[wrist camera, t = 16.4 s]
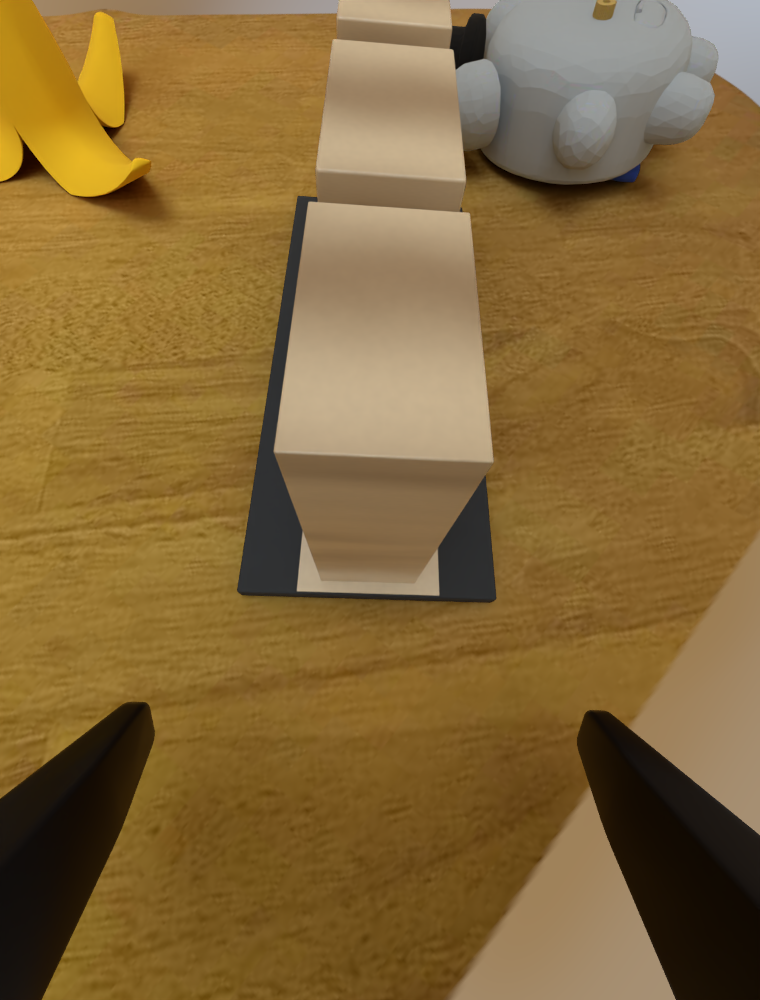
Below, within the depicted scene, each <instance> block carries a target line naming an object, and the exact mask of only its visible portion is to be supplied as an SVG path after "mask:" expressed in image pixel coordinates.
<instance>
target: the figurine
mask: <svg viewBox="0 0 760 1000" xmlns="http://www.w3.org/2000/svg"><path fill="white" fill-rule="evenodd" d="M449 49H452V50H454V60H455V70H456V80H457V91H458V101H459V111H460V121H461V132H462V142H463V151H472V150H476V149H480V148H481V150H482V152H483V153H484V155H485V156H486V157H487V158H488V159H489V160H490V161H491V162H493V163H494V164H495V165H497V166H498V167H500V168H502V169H504V170H506V171H508V172H510V173H512V174H515V175H518V176H521V177H524V178H527V179H531V180H536V181H541V182H546V183H553V184H565V185H568V184H588V183H595V182H602V181H606V180H613V181H619V182H634V181H635V180H636V178H637V176H638V173H639V170H640V163H641V162H642V161H643V160H644V159H645V158H646V156H647V155H648V154H649V152H650V150H651V148H652V146H653V145H654V144H661V145H671V144H677V143H681V142H684V141H686V140H688V139H690V138H692V137H693V136H694V135H695V134H696V133H697V132H698V131H699V130H700V128H701V127H702V125H703V124H704V122H705V120H706V118H707V116H708V114H709V112H710V110H711V107H712V105H713V102H714V96H715V94H714V92H713V89H712V86H711V84H710V81H711V79H712V77H713V75H714V73H715V70H716V67H717V62H718V51H717V49H716V47H715V45H714V44H712V43H711V42H709V41H707V40H705V39H703V38H698V37H693V36H692V35H691V30H690V27H689V24H688V21H687V20H686V18H685V17H684V15H683V14H682V13H681V11H680V10H679V9H678V7H677V6H675V5H674V4H673V3H671V2H670V1H668V0H500V1H499V2H498V3H497V4H496V5H495V6H494V7H493V8H492V10H491V11H490V12H489V14H488V17H487V19H486V18H485V16H484V14H476V13H474V14H472V15H471V17H470V18H469V20H468V23H467V25H466V27H459V26H452V35H451V42H450V48H449Z"/></svg>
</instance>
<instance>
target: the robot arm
mask: <svg viewBox="0 0 760 1000" xmlns="http://www.w3.org/2000/svg"><path fill="white" fill-rule="evenodd" d="M154 736H155V730H154V725H153V720H152V715H151V710H150V707H149V705H148V704H147V703H146V702H127V703H124V704H123V705H121V706H120V707H118V708H117V709H116V710H115V711H113V712H112V713H111V714H109V715H108V716H107V717H106V718H104V719H103V720H102V721H100V722H99V723H98V724H96V725H95V726H94V727H93V728H91V729H90V730H89V731H87V732H86V733H85V734H84V735H82V736H81V737H80V738H78V739H77V740H76V741H74V742H73V743H72V744H71V745H69V746H68V747H67V748H65V749H64V750H63V751H61V752H60V753H59V754H58V755H56V756H55V757H54V758H52V759H51V760H50V761H49V762H47V763H46V764H45V765H43V766H42V767H41V768H39V769H38V770H37V771H36V772H34V773H33V774H32V775H30V776H29V777H28V778H26V779H25V780H24V781H23V782H21V783H20V784H19V785H17V786H16V787H15V788H14V789H12V790H11V791H10V792H8V793H7V794H6V795H4V796H3V797H2V798H1V799H0V1000H42V998H43V996H44V994H45V991H46V989H47V987H48V985H49V983H50V981H51V979H52V977H53V974H54V972H55V970H56V968H57V966H58V964H59V962H60V960H61V957H62V955H63V953H64V951H65V949H66V947H67V945H68V943H69V940H70V938H71V936H72V934H73V932H74V930H75V928H76V926H77V923H78V921H79V919H80V917H81V915H82V913H83V911H84V909H85V906H86V904H87V902H88V900H89V898H90V896H91V894H92V892H93V889H94V887H95V885H96V883H97V881H98V879H99V877H100V875H101V872H102V870H103V868H104V866H105V864H106V862H107V860H108V858H109V855H110V853H111V851H112V849H113V847H114V845H115V842H116V840H117V838H118V836H119V833H120V831H121V829H122V826H123V824H124V821H125V819H126V816H127V813H128V811H129V808H130V805H131V802H132V800H133V797H134V794H135V791H136V789H137V786H138V783H139V781H140V778H141V775H142V772H143V770H144V767H145V764H146V761H147V759H148V756H149V753H150V750H151V748H152V745H153V741H154ZM577 746H578V751H579V754H580V757H581V760H582V763H583V766H584V769H585V772H586V776H587V779H588V782H589V785H590V788H591V791H592V794H593V797H594V800H595V803H596V806H597V809H598V812H599V815H600V819H601V821H602V824H603V827H604V830H605V833H606V835H607V838H608V840H609V842H610V845H611V848H612V850H613V852H614V855H615V857H616V860H617V862H618V864H619V867H620V869H621V871H622V874H623V876H624V878H625V881H626V883H627V885H628V888H629V890H630V892H631V895H632V897H633V900H634V902H635V904H636V907H637V909H638V911H639V914H640V916H641V918H642V921H643V923H644V926H645V928H646V930H647V932H648V935H649V937H650V940H651V942H652V944H653V947H654V949H655V951H656V954H657V956H658V958H659V961H660V963H661V965H662V968H663V970H664V973H665V975H666V977H667V980H668V982H669V984H670V987H671V989H672V991H673V994H674V996H675V999H676V1000H760V835H759V834H758V833H756V832H755V831H754V830H753V829H752V828H750V827H749V826H748V825H747V824H745V823H744V822H743V821H742V820H741V819H739V818H738V817H737V816H735V815H734V814H733V813H732V812H731V811H729V810H728V809H727V808H726V807H725V806H723V805H722V804H721V803H720V802H718V801H717V800H716V799H715V798H713V797H712V796H711V795H710V794H709V793H707V792H706V791H705V790H704V789H703V788H701V787H700V786H699V785H698V784H696V783H695V782H694V781H693V780H692V779H690V778H689V777H688V776H687V775H685V774H684V773H683V772H682V771H680V770H679V769H678V768H677V767H676V766H674V765H673V764H672V763H671V762H670V761H668V760H667V759H666V758H665V757H663V756H662V755H661V754H660V753H659V752H657V751H656V750H655V749H654V748H652V747H651V746H650V745H649V744H647V743H646V742H645V741H644V740H643V739H641V738H640V737H639V736H638V735H636V734H635V733H634V732H633V731H632V730H630V729H629V728H628V727H627V726H625V725H624V724H623V723H622V722H621V721H619V720H618V719H617V718H616V717H614V716H613V715H612V714H611V713H609V712H607V711H601V710H589V711H587V712H586V713H585V715H584V718H583V721H582V724H581V727H580V730H579V733H578V737H577Z"/></svg>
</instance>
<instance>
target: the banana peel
mask: <svg viewBox="0 0 760 1000" xmlns="http://www.w3.org/2000/svg"><path fill="white" fill-rule="evenodd" d="M123 123H124V85H123V75H122V66H121V59H120V52H119V46H118V40H117V35H116V30H115V25H114V20H113V18H112V17H110V16H109V15H107V14H105V13H103V12H98V13H96V14H95V16H94V21H93V27H92V34H91V39H90V44H89V48H88V52H87V56H86V60H85V63H84V66H83V69H82V72H81V74H80V77H79V79H78V81H77V80H76V78H75V76H74V74H73V72H72V70H71V68H70V66H69V64H68V62H67V60H66V59H65V57H64V55H63V53H62V51H61V49H60V48H59V46H58V44H57V42H56V40H55V38H54V36H53V35H52V33H51V31H50V30H49V28H48V26H47V25H46V23H45V21H44V19H43V18H42V16H41V15H40V13H39V11H38V9H37V8H36V6H35V4H34V3H33V1H32V0H0V181H4V180H7V179H9V178H11V177H13V176H14V175H15V174H16V173H17V172H18V170H19V169H20V167H21V165H22V161H23V141H22V139H23V140H24V142H25V143H26V144H27V146H28V147H29V149H30V150H31V151H32V153H33V154H34V155H35V157H36V158H37V159H38V160H39V162H40V163H41V164H42V165H43V166H44V168H45V169H46V170H47V171H48V172H49V174H50V175H51V176H52V177H53V178H54V179H55V180H56V181H57V182H58V183H59V184H60V185H61V186H62V187H63V188H64V189H65V190H66V191H67V192H68V193H70V194H71V195H77V196H85V197H95V196H101V195H105V194H108V193H111V192H113V191H115V190H117V189H119V188H121V187H123V186H124V185H126V184H128V183H130V182H132V181H134V180H136V179H138V178H140V177H141V176H143V175H145V174H147V173H148V172H149V171H150V168H151V161H150V160H147V159H143V158H135V159H134V160H133V161H131V160H130V159H128V158H127V157H126V156H125V155H124V154H123V153H122V152H121V151H120V150H119V149H118V147H117V146H116V145H115V144H114V143H113V141H112V140H111V139H110V137H109V136H108V135H107V133H106V132H105V130H104V129H103V127H102V126H105V127H111V128H116V127H119V126H121V125H122V124H123Z"/></svg>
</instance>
